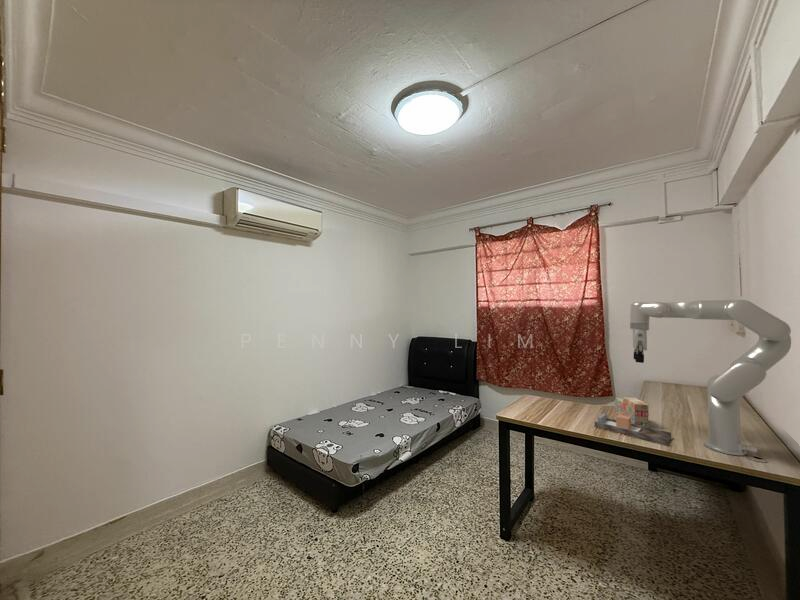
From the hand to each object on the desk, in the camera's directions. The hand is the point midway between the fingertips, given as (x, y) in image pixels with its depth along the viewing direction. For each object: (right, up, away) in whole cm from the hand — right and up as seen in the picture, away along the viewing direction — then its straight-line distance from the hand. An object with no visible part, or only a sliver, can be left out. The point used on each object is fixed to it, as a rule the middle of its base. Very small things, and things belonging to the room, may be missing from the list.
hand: (638, 360), depth 154 cm
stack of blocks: (+5, -35, +12) cm, 37 cm away
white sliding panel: (-10, -33, -1) cm, 35 cm away
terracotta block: (-9, -32, -2) cm, 34 cm away
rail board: (-7, -34, -4) cm, 35 cm away
